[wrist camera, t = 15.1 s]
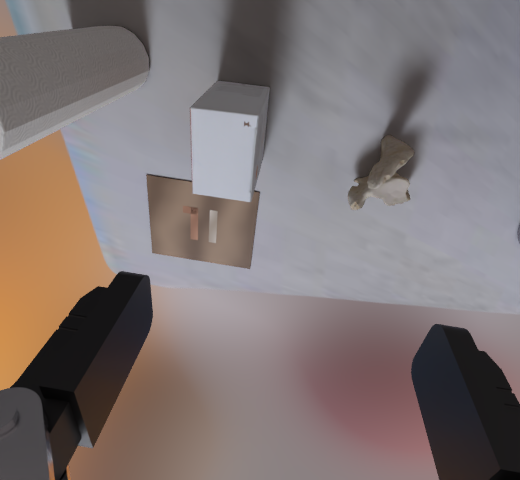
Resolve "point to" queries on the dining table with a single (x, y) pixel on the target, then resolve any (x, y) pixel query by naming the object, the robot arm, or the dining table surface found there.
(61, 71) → the paper towel roll
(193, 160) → the small box
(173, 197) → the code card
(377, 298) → the dining table surface
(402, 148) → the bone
